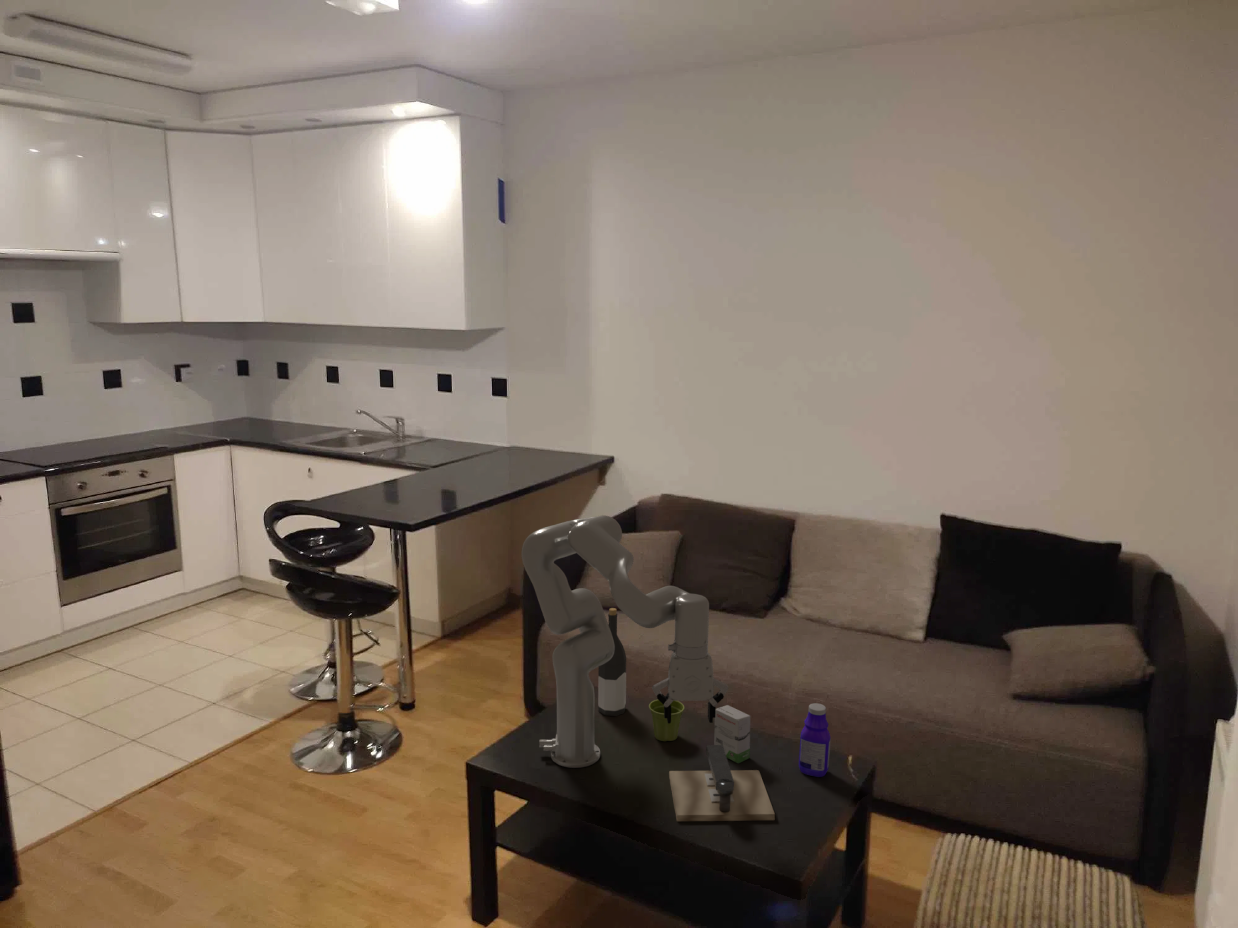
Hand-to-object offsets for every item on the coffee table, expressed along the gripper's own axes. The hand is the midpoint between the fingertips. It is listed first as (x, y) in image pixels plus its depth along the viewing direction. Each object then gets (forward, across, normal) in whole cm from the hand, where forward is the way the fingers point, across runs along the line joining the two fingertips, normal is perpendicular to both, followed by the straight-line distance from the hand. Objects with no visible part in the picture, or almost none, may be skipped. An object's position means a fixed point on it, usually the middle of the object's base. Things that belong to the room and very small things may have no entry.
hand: (689, 720), depth 203 cm
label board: (+20, +8, +2) cm, 22 cm away
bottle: (+21, +33, +12) cm, 41 cm away
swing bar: (+14, +8, +2) cm, 16 cm away
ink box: (+21, +14, +22) cm, 33 cm away
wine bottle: (+20, -16, +48) cm, 54 cm away
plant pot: (+21, -2, +32) cm, 38 cm away
